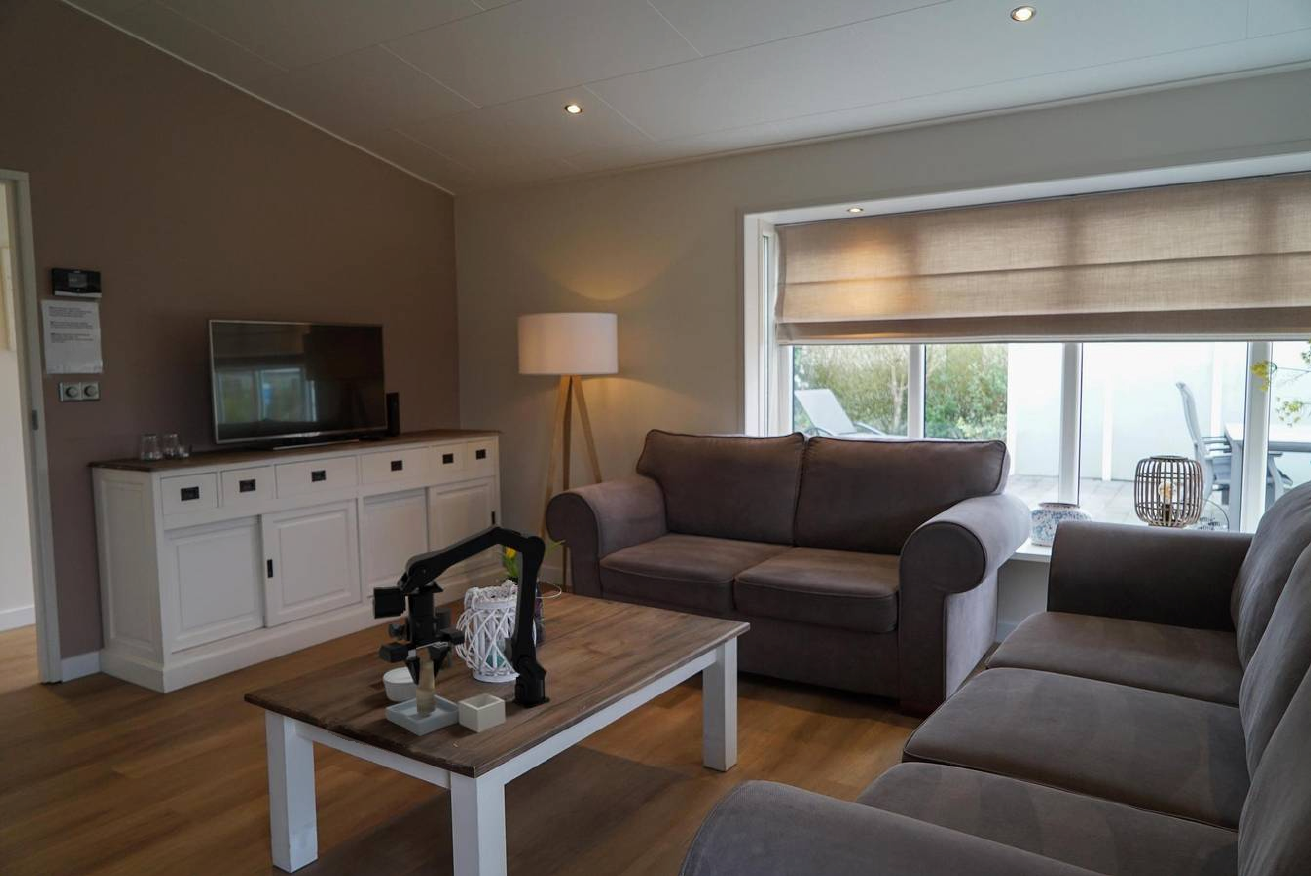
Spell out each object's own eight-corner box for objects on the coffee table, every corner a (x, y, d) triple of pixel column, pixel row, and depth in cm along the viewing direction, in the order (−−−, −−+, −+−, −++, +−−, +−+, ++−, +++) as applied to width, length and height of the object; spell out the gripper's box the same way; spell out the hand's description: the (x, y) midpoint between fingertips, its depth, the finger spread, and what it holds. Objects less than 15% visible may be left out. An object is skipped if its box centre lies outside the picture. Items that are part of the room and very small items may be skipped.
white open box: (486, 714, 202) (485, 692, 202) (505, 722, 197) (504, 700, 197) (459, 723, 197) (458, 701, 197) (478, 732, 192) (477, 710, 192)
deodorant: (425, 666, 236) (423, 610, 235) (445, 660, 240) (443, 605, 239) (437, 671, 232) (435, 614, 231) (457, 665, 236) (455, 609, 235)
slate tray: (432, 703, 210) (432, 693, 209) (467, 719, 200) (466, 708, 200) (386, 718, 201) (385, 708, 201) (419, 735, 191) (418, 724, 191)
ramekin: (405, 707, 208) (404, 685, 207) (373, 698, 214) (372, 676, 214) (441, 692, 217) (440, 671, 217) (410, 683, 223) (409, 663, 223)
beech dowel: (429, 705, 203) (427, 658, 202) (438, 710, 200) (436, 662, 199) (413, 710, 200) (411, 662, 199) (423, 715, 197) (420, 666, 196)
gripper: (438, 598, 211) (441, 663, 212) (364, 616, 197) (368, 684, 199) (465, 606, 203) (468, 674, 204) (390, 625, 190) (394, 697, 191)
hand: (424, 681), depth 200 cm, fingers closed on beech dowel, 4 cm apart
